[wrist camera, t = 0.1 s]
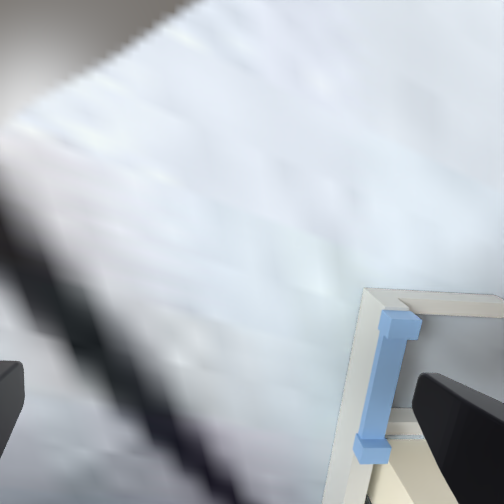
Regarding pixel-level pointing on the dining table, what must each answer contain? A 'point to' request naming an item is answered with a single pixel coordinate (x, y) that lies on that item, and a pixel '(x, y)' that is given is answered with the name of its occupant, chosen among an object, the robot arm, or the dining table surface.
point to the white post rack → (384, 381)
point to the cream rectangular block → (409, 476)
